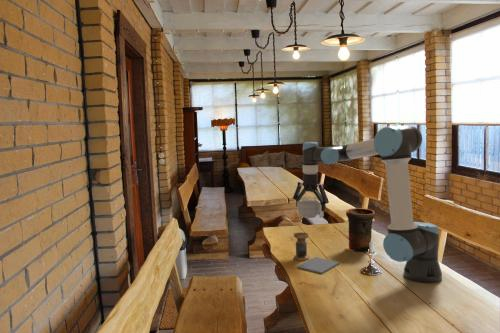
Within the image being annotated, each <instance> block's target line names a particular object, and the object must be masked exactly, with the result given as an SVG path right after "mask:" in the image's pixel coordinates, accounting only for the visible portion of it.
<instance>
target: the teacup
mask: <svg viewBox="0 0 500 333" xmlns="http://www.w3.org/2000/svg"><path fill="white" fill-rule="evenodd" d="M320 204H321V203H320V201H319V200H311V199H309V200H308V199H307V200H306V199H305V200H301V201H299V202H298V213H299V214H298V215H300V216H301V217H302V218H305V219H312V218H316V217H317V216H318V215H320ZM326 205H327V204H325V209H326V207H327V206H326Z"/></svg>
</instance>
